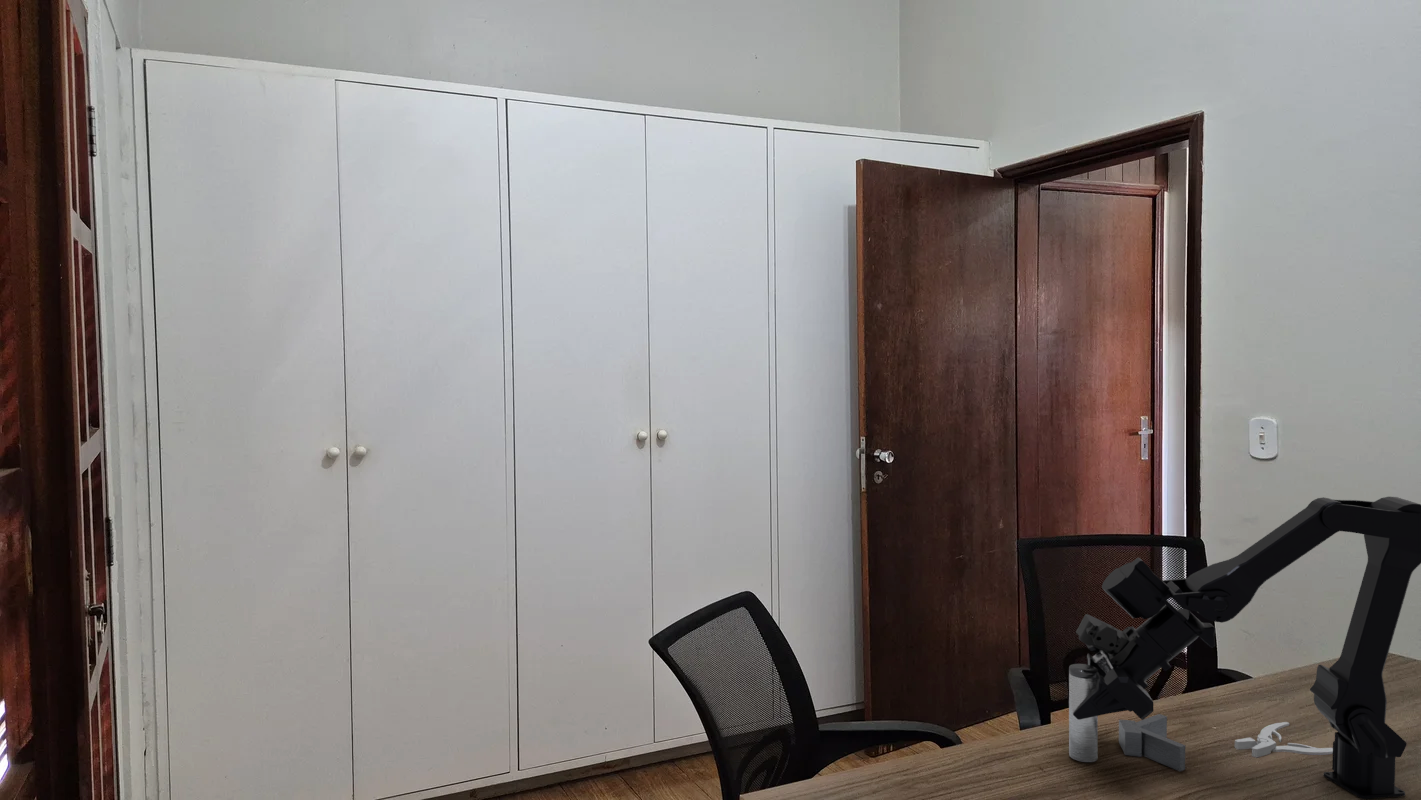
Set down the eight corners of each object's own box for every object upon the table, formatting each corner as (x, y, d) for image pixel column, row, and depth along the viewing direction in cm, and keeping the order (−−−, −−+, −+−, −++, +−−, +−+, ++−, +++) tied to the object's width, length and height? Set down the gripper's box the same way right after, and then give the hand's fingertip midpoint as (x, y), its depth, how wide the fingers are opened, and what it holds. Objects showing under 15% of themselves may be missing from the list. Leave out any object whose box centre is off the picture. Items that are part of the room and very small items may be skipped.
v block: (1165, 736, 131) (1165, 714, 131) (1186, 772, 120) (1187, 747, 119) (1113, 731, 133) (1114, 709, 133) (1130, 766, 121) (1130, 742, 121)
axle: (1102, 761, 122) (1103, 672, 122) (1077, 763, 122) (1077, 673, 121) (1088, 749, 126) (1088, 663, 125) (1064, 751, 126) (1064, 664, 125)
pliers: (1349, 742, 126) (1276, 759, 121) (1349, 752, 126) (1276, 770, 121) (1285, 715, 135) (1214, 730, 130) (1284, 725, 135) (1214, 741, 130)
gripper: (1101, 582, 131) (1024, 648, 134) (1127, 619, 113) (1038, 693, 116) (1157, 636, 129) (1078, 701, 133) (1192, 682, 111) (1101, 756, 115)
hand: (1073, 710), depth 124 cm, fingers closed on axle, 4 cm apart
